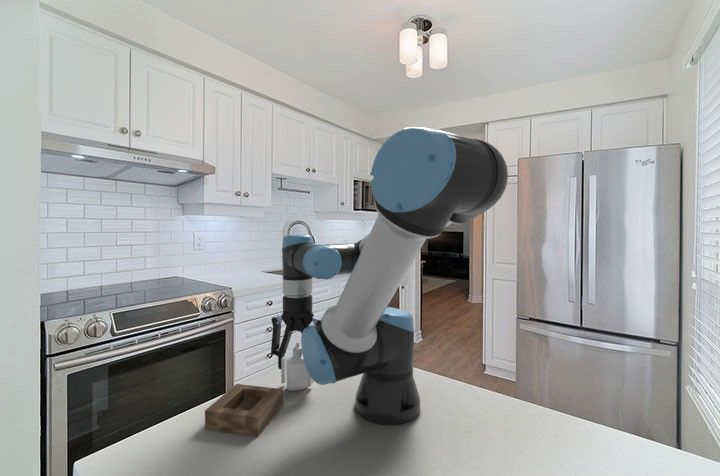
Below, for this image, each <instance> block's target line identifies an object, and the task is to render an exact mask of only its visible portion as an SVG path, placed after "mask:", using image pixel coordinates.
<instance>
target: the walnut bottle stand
mask: <svg viewBox="0 0 720 476" xmlns="http://www.w3.org/2000/svg"><path fill="white" fill-rule="evenodd" d="M283 407H284V388H277V387H270V386H269V387H268V386H267V387H266V386H258V385H249V384H240V383H236V384H235V385H233V386H232V387H231V388H230V389H229V390H228V391H226V392H225V393H224V394H223V395H221V396H220V397H219V398H218V399H216V400H215V401H214V402H213V403H212V404H211V405H209V406H208V407H206V409H204V429H205V430H209V431H215V432H216V431H217V432H223V433H230V434H236V435H243V436H249V437H259V436H260V435H261V434H262V432H263V431H264V430H266V428H267V427H268V425H269V424H270V423H271V422H272V420H273V419H274V418H275V417H276V415H278V413H279V412H280V410H281V409H282V408H283Z"/></svg>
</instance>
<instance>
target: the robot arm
mask: <svg viewBox="0 0 720 476" xmlns="http://www.w3.org/2000/svg"><path fill="white" fill-rule="evenodd" d="M370 174H371V176H373V178H372V180H370V186H371V192H372V195H373V197H374V201H373V205H374V208H375V210H376V212H377V214H378V215H377V217H376V219H375V221H374V223H373V226H372V228H371V230H370V232H369V234H367V235H365V236H364V237H363V238H361V239H359V240H358V241H357V242H353V243H352V242H351V243H331V244H330V243H329V244H327V243H326V244H314V243H313V238H312V236H311V235H310V234H286V235H285V236H283V239H282V248H281V252H282V257H281V258H282V294H283V296H282V314H281V315H278V314H276V315H274V316H272V317H271V318H270V319H271V320H270V321H271V324H272V335H271V349H270V353H271V355H272V356H273V355H274V356H276V357H277V359H278V360H277V367H278V370H280V373H281V375H280V377H281V384H285V383H287V359H288V358H289V354H286V353H287V349H288V346H289V343H290V341H291V337H292V335H293V332H300V333H301V338H300V339H301V340H300V341H301V342H300V346H301V348H302V355H303V359H304V362H305V365H306V368H307V371H308V386H309V387H311V386H312V385H313V384H314V382H315V383H316V384H317V385H320V386H326V385H329V384H336V382H337V383H338V382H340V381H343V380H346V379H349V378H353V377H355V376H356V377H357V376H359V375H361V379H360V381H359V385H358V387H357V390H356V393H355V399H354V400H355V410H356V413H357V414H359V415H360V416H361V417H362V418H363V419H366V420H368V421H370V422H374V423H376V424H381V425H401V424H405V423H407V422H410V421H413V420H414V419H416V417H418V415H419V414H420V411H421V397H420V394H419V391H418V387H417V383H416V381H415V378H414V373H413V372H414V341H415V339H414V338H415V329H414V319H413V316H412V314H411V313H410V312H408V311H406V310H404V309H400V308H395V307H391V306H389V305H390V302H391V300H392V299H393V298H394V296H395V294H396V292H397V290H398V288H399V286H400V285H401V283H402V282H403V280H404V278H405V277H406V275H407V274H408V272H409V269H410V268H411V266H412V264H413V263H414V261H415V260H416V257H417V256H418V254H419V252H420V250H421V249H422V247H423V246H424V243H425V242H426V241H427V239H428V240H429V239H434V238H436V237H439V236H440V235H441V234H442V232H443V231H444V229H445V228H447V227H448V226H450V225H451V224H454V225H463V224H465V223H467V222H469V221H471V220H472V219H474V218H476V217H478V216H480V215H482V214H483V213H485V212H486V211H488V210H489V209H491V208H492V207H494V206H495V205H496V204H497V203H498V202H499V200H500V199H501V198H502V196H503V195H504V193H505V191H506V188H507V185H508V178H509V172H508V166H507V162H506V160H505V158H504V156H503V154H502V153H501V152H500V151H499V149H498V148H496V147H495V146H494V145H493V144H490V142H487V141H484V140H481V139H478V138H471V137H466V136H463V135H460V134H455V133H451V132H448V131H444V130H440V129H439V128H436V127H435V128H434V127H419V126H412V127H411V126H410V127H405V128H403V129H402V130H398V131H396V132H394V133H393V134H392V135H390V136H389V137H387V139H386V140H385V141H384V142H383V144H382V145H381V146H380V148H379V149H378V151H377V153H376V156H375V157H374V160H373V164H372V165H371V173H370ZM348 274H349V277H348V279H347V282H346V283H345V286H344V288H343V291H342V292H341V294H340V297H339V298H338V301H337V303H336V304H335V305H332V306H331V307H329V308H327V310H326V311H324V313H323V315H322V317H320V318H318V317H315V315H314V314H313V296H312V293H313V278H315V279H316V280H317V279H318V280H330V279H332V278H334V277H335V276H341V275H348ZM282 323H284V324H285V329H284V332H283V333H284V334H283V337H282V339H281V330H282ZM311 323H313V324H311ZM281 340H282V341H281Z"/></svg>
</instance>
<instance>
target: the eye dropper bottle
mask: <svg viewBox="0 0 720 476" xmlns="http://www.w3.org/2000/svg"><path fill="white" fill-rule="evenodd" d="M309 387H310V386H308V371H307V368H306V365H305V362H304V359H303V354H302V348H301V344H300V342H299V341H297V342H296V343H295V346H293V348H292V356H290V357H288V359H287V381H286V389H287V390H288V391H290V392H297V391H303V390H306V389H308V388H309Z"/></svg>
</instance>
